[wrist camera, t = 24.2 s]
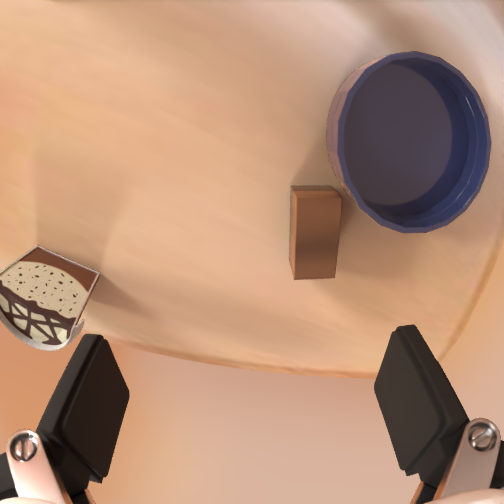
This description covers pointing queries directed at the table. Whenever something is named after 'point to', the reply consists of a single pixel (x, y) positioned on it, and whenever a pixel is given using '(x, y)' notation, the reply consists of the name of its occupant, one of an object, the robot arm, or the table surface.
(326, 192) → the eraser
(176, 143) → the table surface
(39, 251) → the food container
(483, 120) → the bowl
